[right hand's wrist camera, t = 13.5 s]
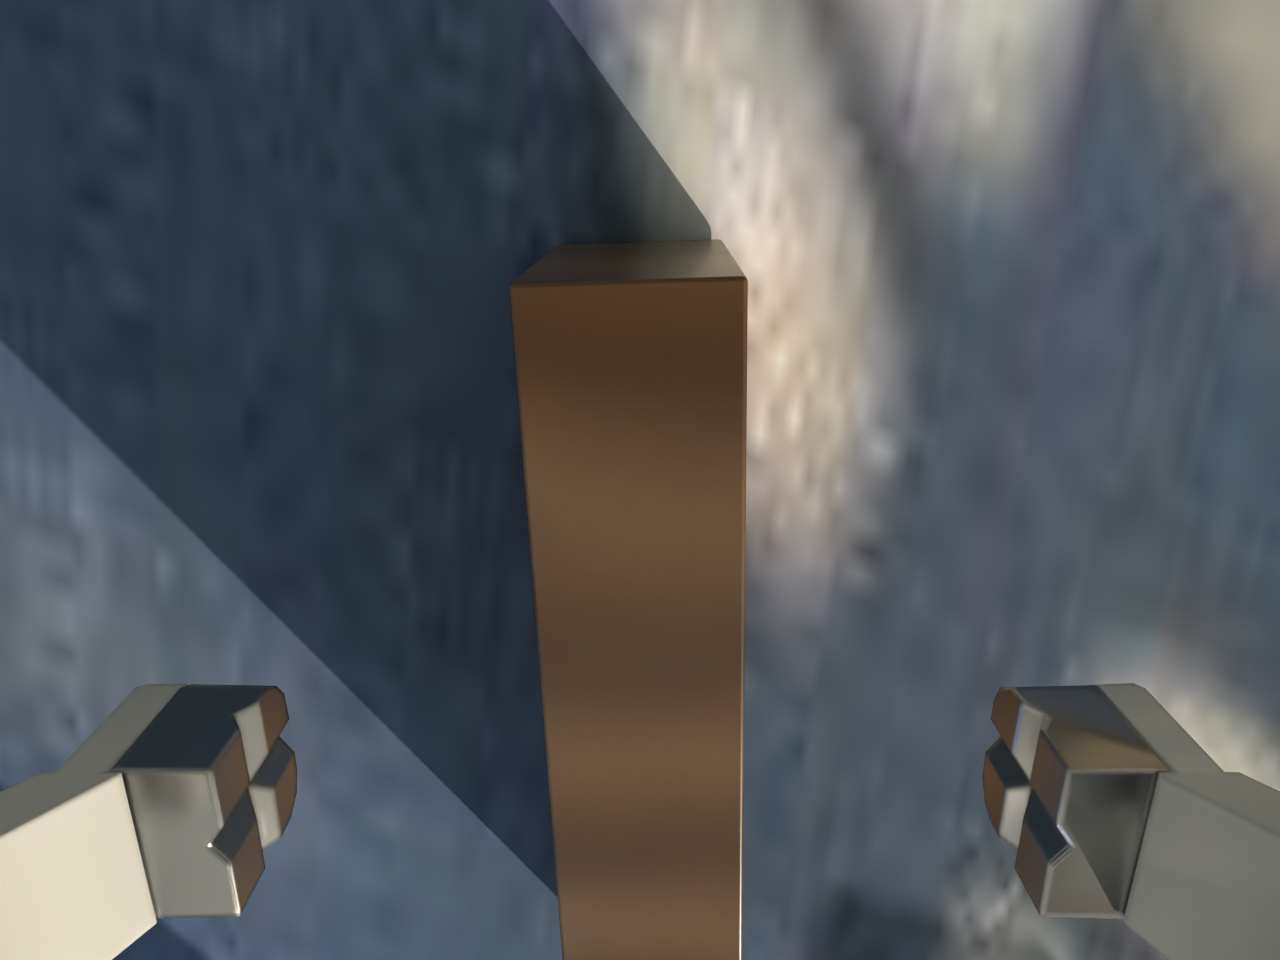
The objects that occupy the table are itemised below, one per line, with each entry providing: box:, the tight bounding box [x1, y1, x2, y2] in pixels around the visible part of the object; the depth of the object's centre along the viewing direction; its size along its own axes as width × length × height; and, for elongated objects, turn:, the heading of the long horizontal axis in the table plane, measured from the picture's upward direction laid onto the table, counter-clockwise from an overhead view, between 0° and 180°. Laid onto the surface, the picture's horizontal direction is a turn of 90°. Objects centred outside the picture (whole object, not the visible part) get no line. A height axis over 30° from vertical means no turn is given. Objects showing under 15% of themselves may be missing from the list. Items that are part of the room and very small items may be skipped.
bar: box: [509, 240, 748, 960], centre depth 25 cm, size 25×4×8 cm, turn 2°
